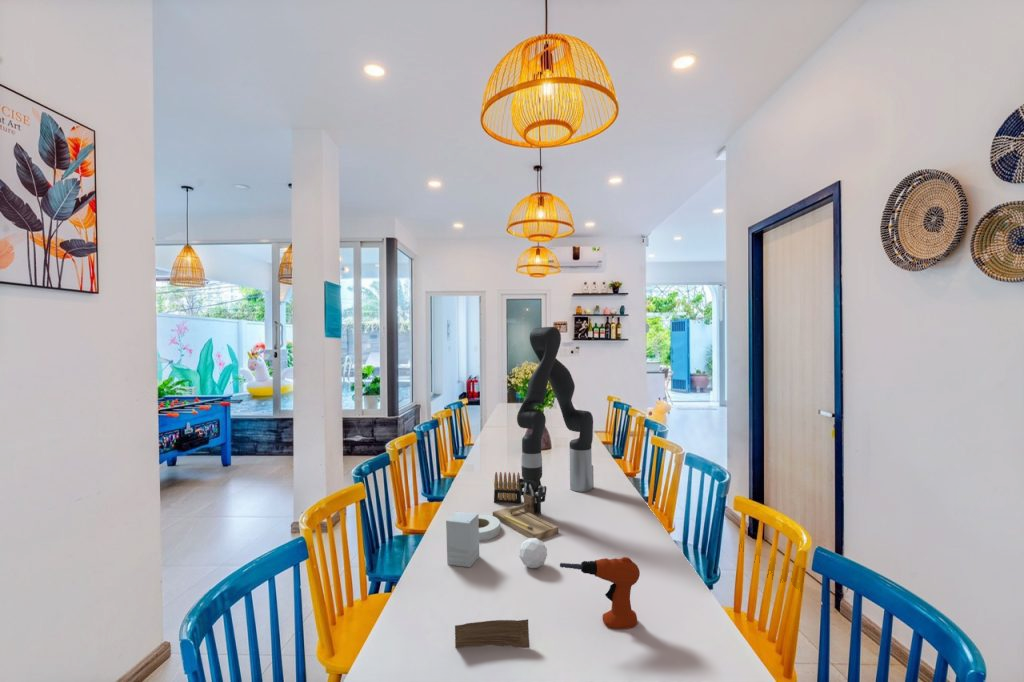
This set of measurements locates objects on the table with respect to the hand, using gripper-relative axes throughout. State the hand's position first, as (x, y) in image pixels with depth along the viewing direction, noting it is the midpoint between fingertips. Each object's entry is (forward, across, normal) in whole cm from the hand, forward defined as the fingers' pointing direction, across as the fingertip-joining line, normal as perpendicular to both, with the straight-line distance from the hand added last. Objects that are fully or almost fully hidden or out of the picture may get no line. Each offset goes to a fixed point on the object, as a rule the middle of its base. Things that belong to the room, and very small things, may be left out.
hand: (532, 510), depth 165 cm
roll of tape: (+2, 0, +24) cm, 24 cm away
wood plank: (+2, -51, +51) cm, 72 cm away
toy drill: (+2, -59, +28) cm, 65 cm away
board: (+1, -6, +8) cm, 10 cm away
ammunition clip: (+2, +15, 0) cm, 15 cm away
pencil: (-1, -7, +12) cm, 14 cm away
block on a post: (+1, 0, +4) cm, 4 cm away
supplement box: (+2, -15, +38) cm, 40 cm away
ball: (+2, -30, +24) cm, 38 cm away
